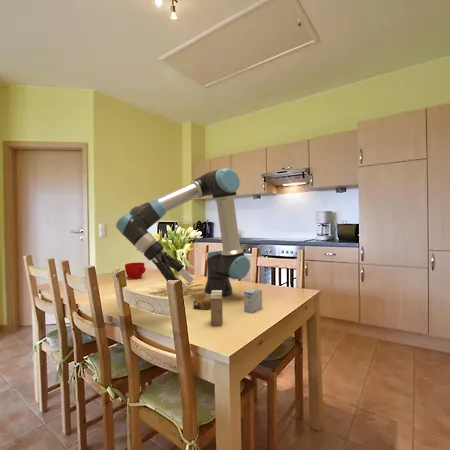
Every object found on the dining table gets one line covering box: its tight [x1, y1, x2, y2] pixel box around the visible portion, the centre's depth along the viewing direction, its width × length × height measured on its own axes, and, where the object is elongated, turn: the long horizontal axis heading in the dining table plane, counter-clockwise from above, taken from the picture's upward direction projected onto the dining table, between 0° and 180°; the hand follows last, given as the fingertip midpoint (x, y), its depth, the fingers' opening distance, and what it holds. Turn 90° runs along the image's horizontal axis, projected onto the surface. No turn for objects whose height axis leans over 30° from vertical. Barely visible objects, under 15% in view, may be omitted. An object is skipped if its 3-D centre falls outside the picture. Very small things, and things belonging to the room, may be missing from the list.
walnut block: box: [210, 290, 223, 327], centre depth 105 cm, size 6×4×12 cm, turn 178°
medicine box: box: [243, 288, 263, 314], centre depth 119 cm, size 8×4×9 cm, turn 141°
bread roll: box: [192, 292, 211, 311], centre depth 125 cm, size 10×10×8 cm
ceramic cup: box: [124, 262, 147, 280], centre depth 188 cm, size 13×17×10 cm
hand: (189, 285), depth 105 cm, fingers open, 13 cm apart
